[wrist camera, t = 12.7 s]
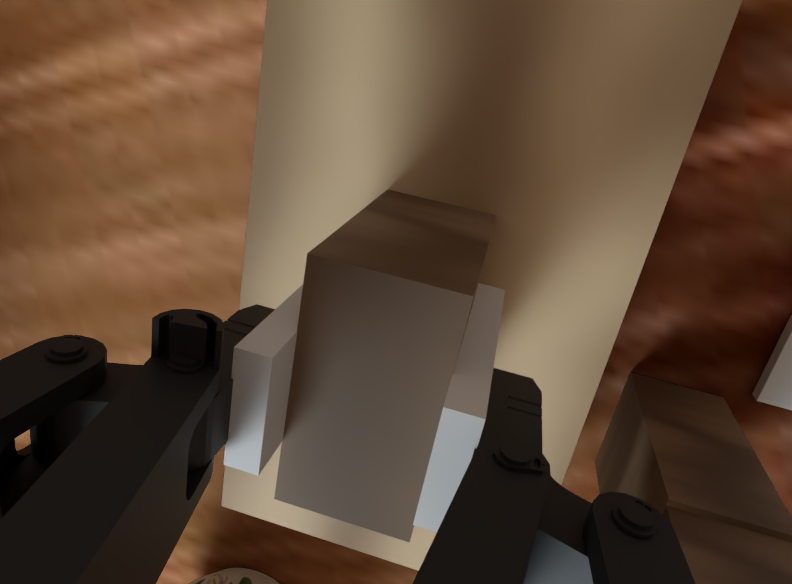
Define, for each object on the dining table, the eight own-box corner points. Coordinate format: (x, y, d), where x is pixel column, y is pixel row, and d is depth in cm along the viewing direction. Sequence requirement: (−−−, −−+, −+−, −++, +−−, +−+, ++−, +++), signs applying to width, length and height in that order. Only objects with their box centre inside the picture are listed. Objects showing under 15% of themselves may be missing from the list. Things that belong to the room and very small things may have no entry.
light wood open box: (297, 400, 31) (156, 593, 19) (366, -85, 22) (189, -244, 11) (669, 510, 28) (757, 806, 17) (907, 9, 20) (1404, -72, 8)
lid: (250, 466, 25) (110, 658, 17) (315, -118, 17) (105, -293, 9) (519, 551, 24) (508, 810, 15) (733, -48, 15) (957, -181, 7)
